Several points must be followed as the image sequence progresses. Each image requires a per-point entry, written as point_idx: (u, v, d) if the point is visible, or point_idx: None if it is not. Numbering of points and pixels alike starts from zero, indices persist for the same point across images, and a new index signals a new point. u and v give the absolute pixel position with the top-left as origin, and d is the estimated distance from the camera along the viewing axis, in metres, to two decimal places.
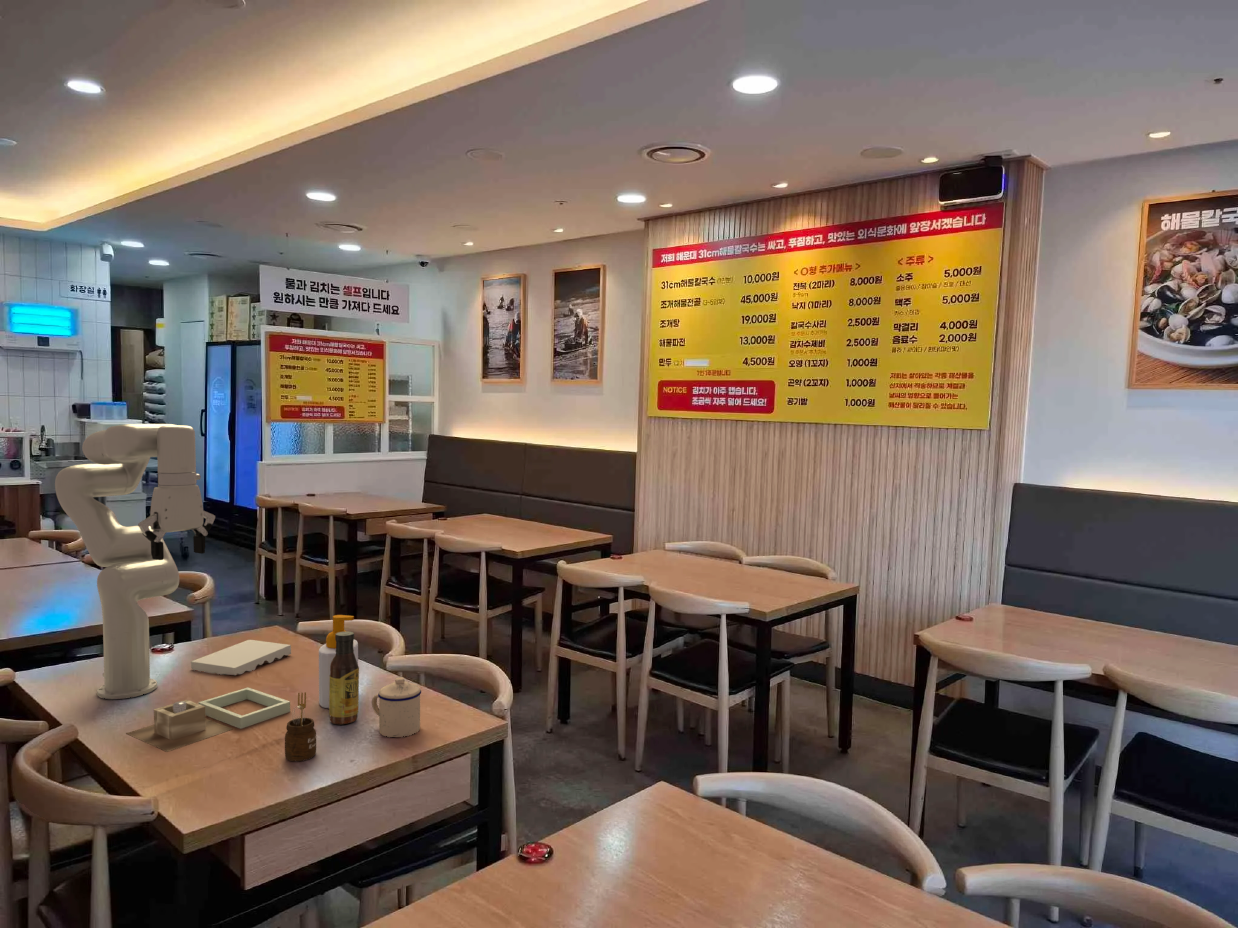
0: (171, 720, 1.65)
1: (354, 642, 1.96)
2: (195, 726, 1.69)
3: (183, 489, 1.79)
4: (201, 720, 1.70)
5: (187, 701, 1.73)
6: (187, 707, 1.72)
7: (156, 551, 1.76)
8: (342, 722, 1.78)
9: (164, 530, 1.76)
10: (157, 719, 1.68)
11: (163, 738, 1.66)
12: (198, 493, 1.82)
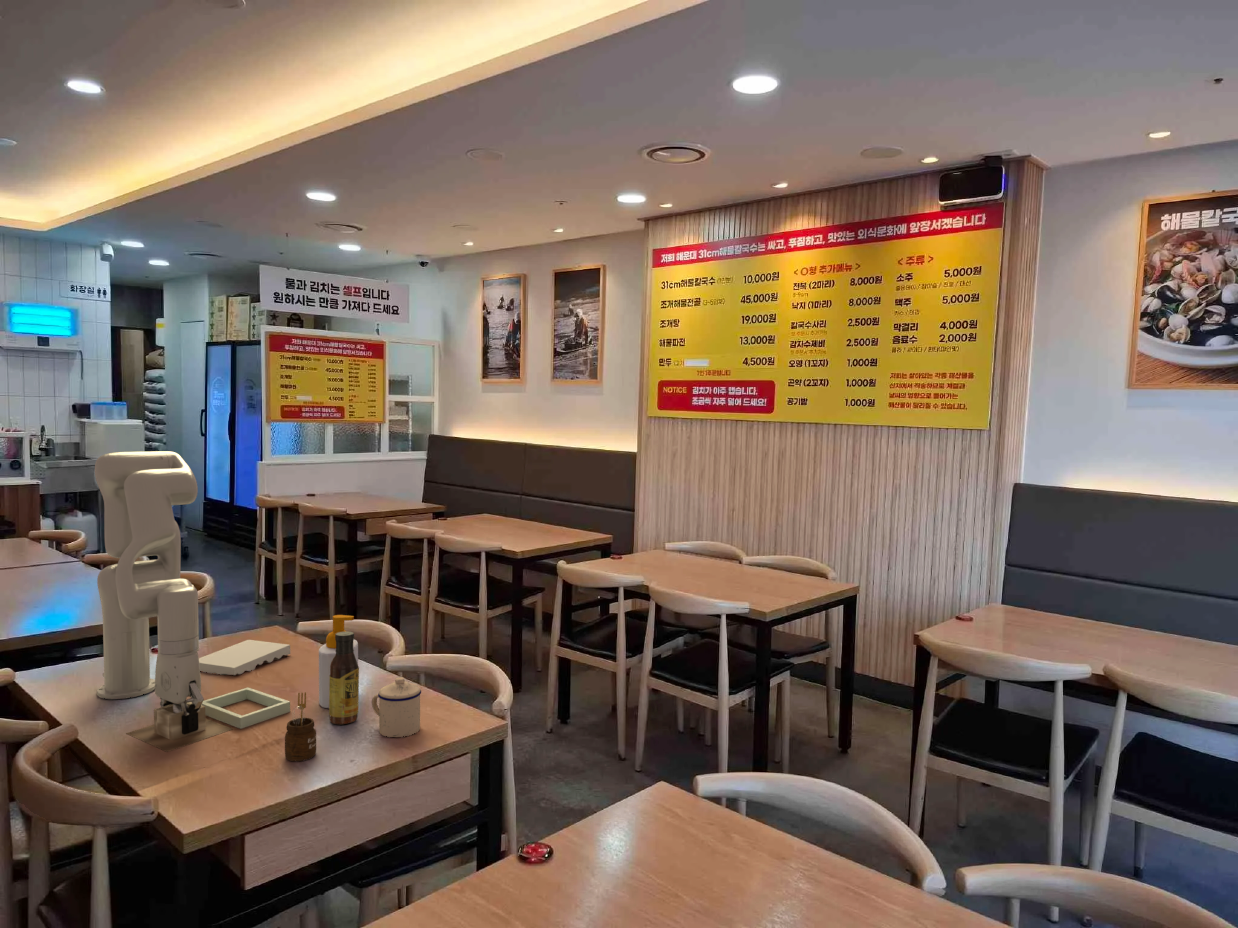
0: (171, 720, 1.65)
1: (354, 642, 1.96)
2: None
3: None
4: (201, 720, 1.70)
5: None
6: None
7: None
8: (342, 722, 1.78)
9: None
10: (157, 719, 1.68)
11: (163, 738, 1.66)
12: None
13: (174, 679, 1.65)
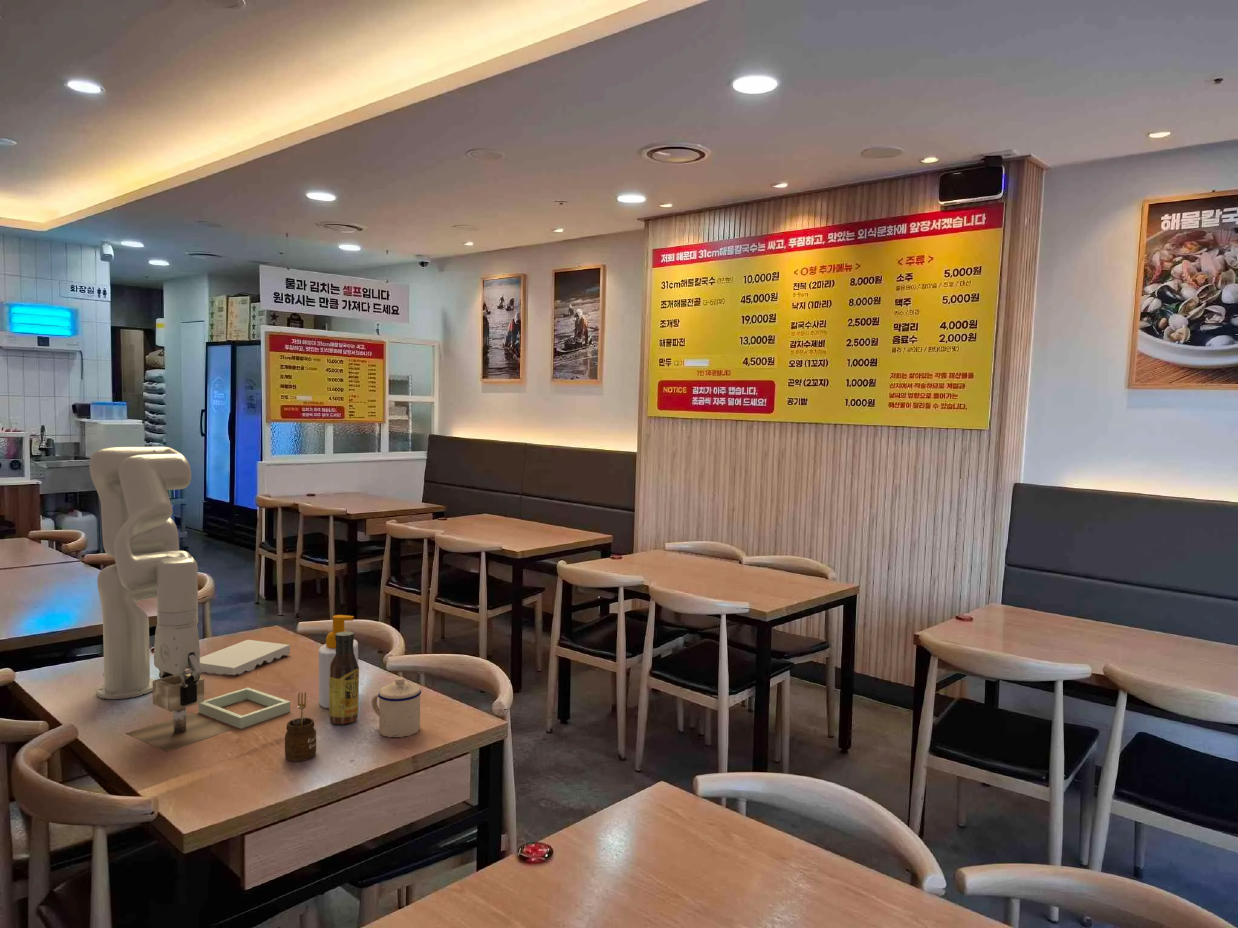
0: (170, 691, 1.65)
1: (354, 642, 1.96)
2: None
3: None
4: (200, 692, 1.70)
5: None
6: None
7: None
8: (342, 722, 1.78)
9: None
10: (156, 690, 1.68)
11: (163, 738, 1.66)
12: None
13: (173, 650, 1.65)
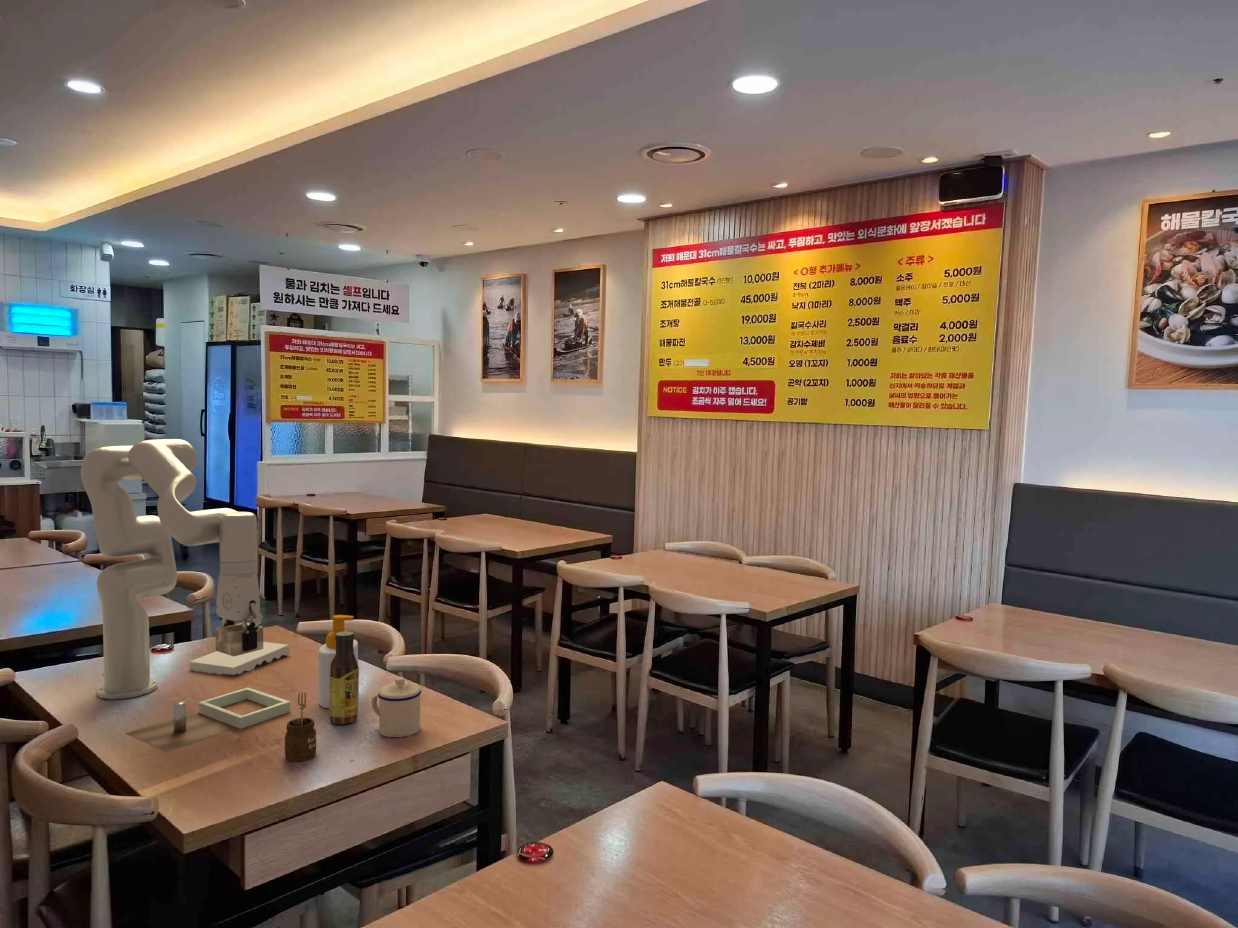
0: (232, 637, 1.74)
1: (354, 642, 1.96)
2: None
3: None
4: (259, 640, 1.79)
5: None
6: None
7: None
8: (342, 722, 1.78)
9: None
10: (219, 637, 1.77)
11: (163, 738, 1.66)
12: None
13: (235, 598, 1.74)
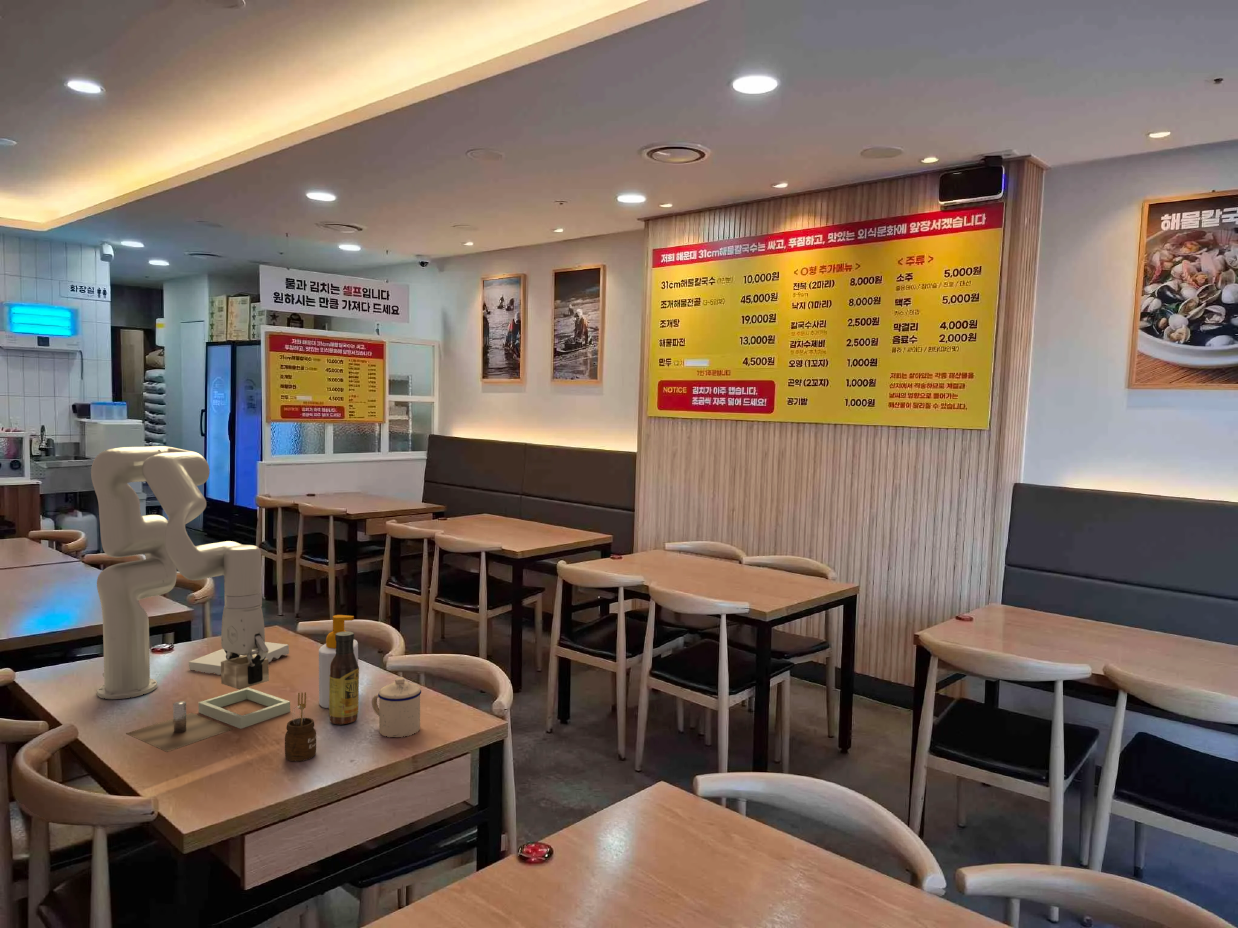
0: (238, 670, 1.75)
1: (354, 642, 1.96)
2: None
3: None
4: (265, 672, 1.80)
5: None
6: None
7: None
8: (342, 722, 1.78)
9: None
10: (224, 670, 1.78)
11: (163, 738, 1.66)
12: None
13: (241, 632, 1.76)
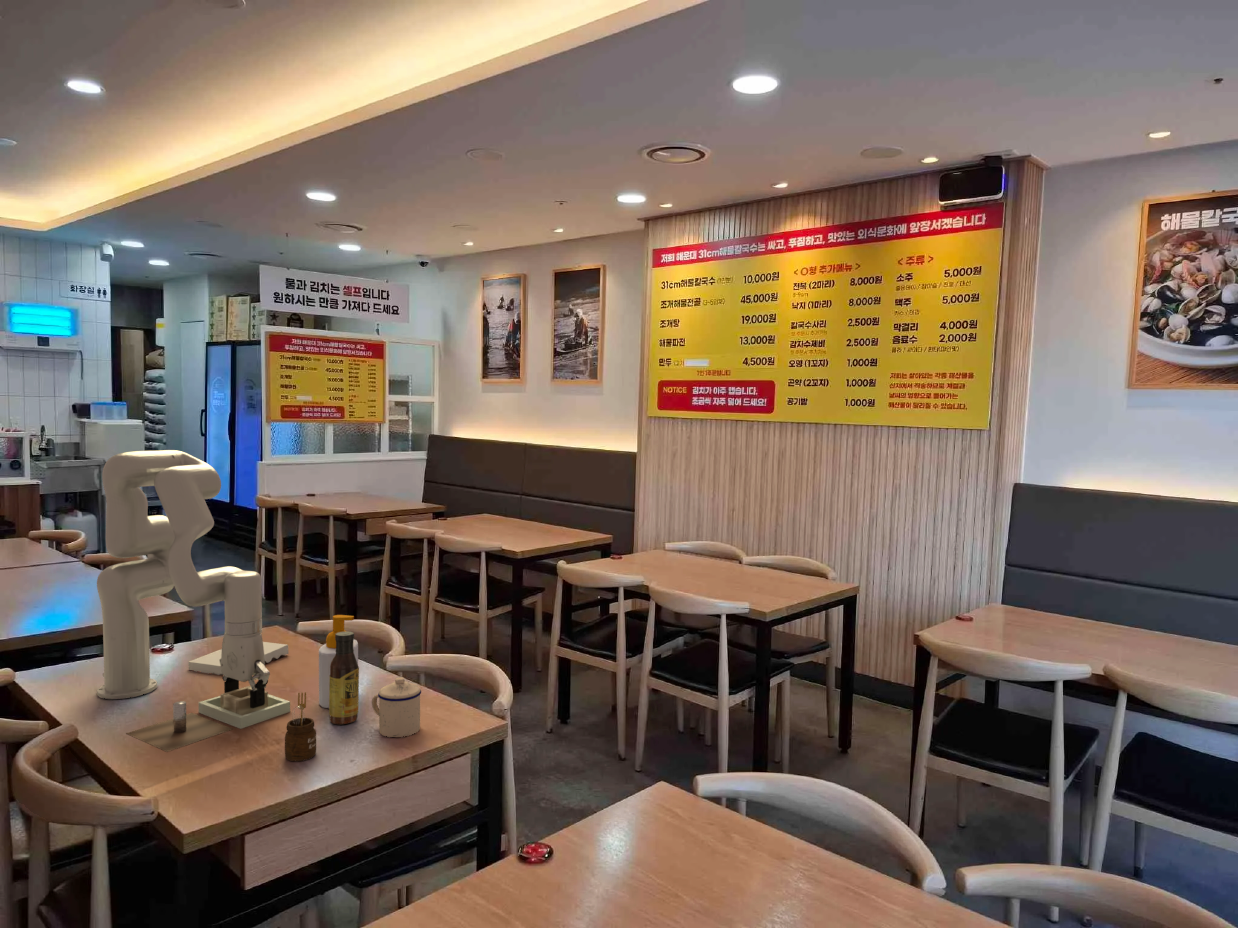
0: (238, 704, 1.76)
1: (354, 642, 1.96)
2: None
3: None
4: (264, 704, 1.81)
5: (250, 687, 1.84)
6: None
7: None
8: (342, 722, 1.78)
9: None
10: (224, 703, 1.79)
11: (163, 738, 1.66)
12: None
13: (241, 658, 1.76)
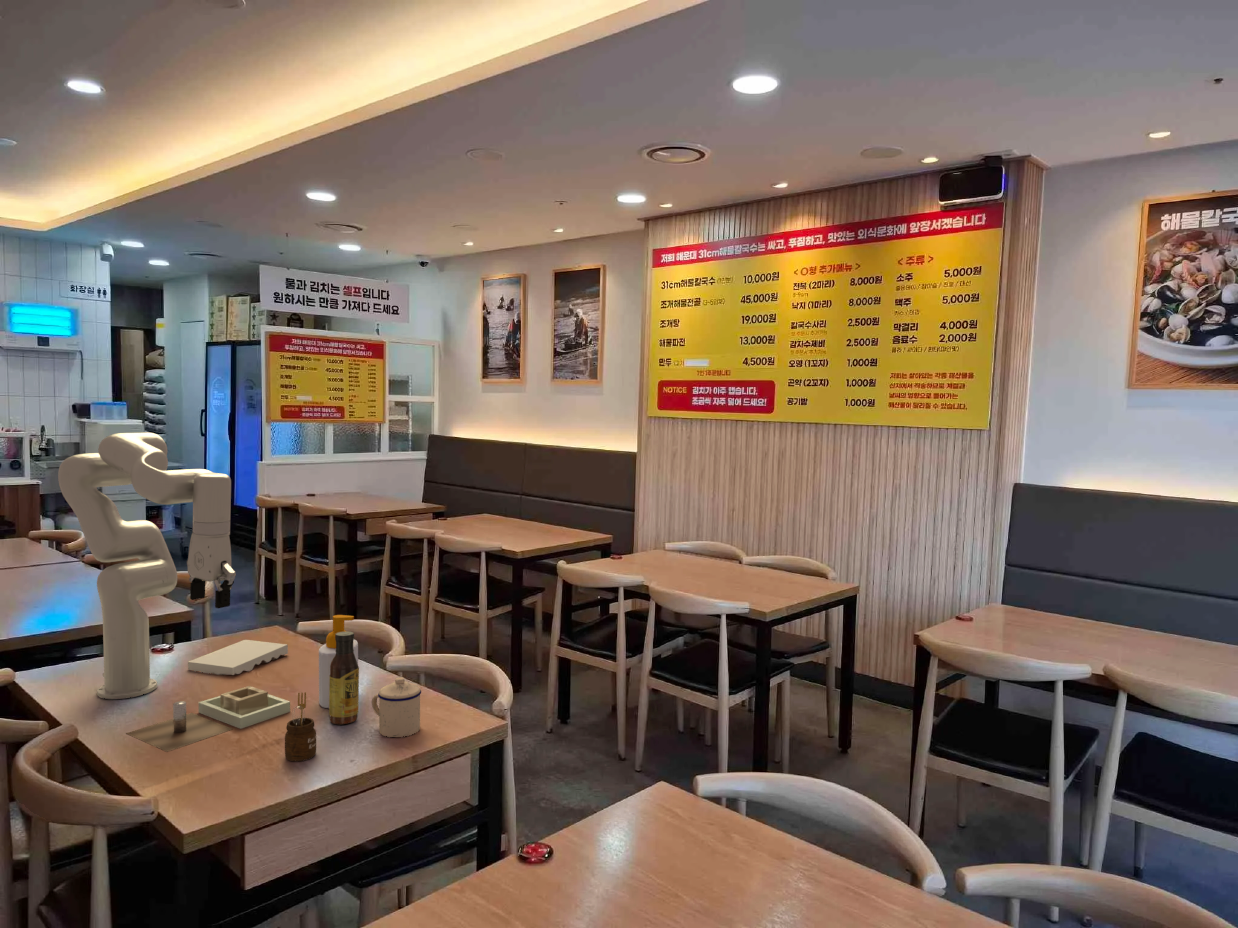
0: (238, 704, 1.76)
1: (354, 642, 1.96)
2: None
3: None
4: (264, 704, 1.81)
5: (250, 687, 1.84)
6: (250, 692, 1.83)
7: None
8: (342, 722, 1.78)
9: None
10: (224, 703, 1.79)
11: (163, 738, 1.66)
12: None
13: (207, 558, 1.77)
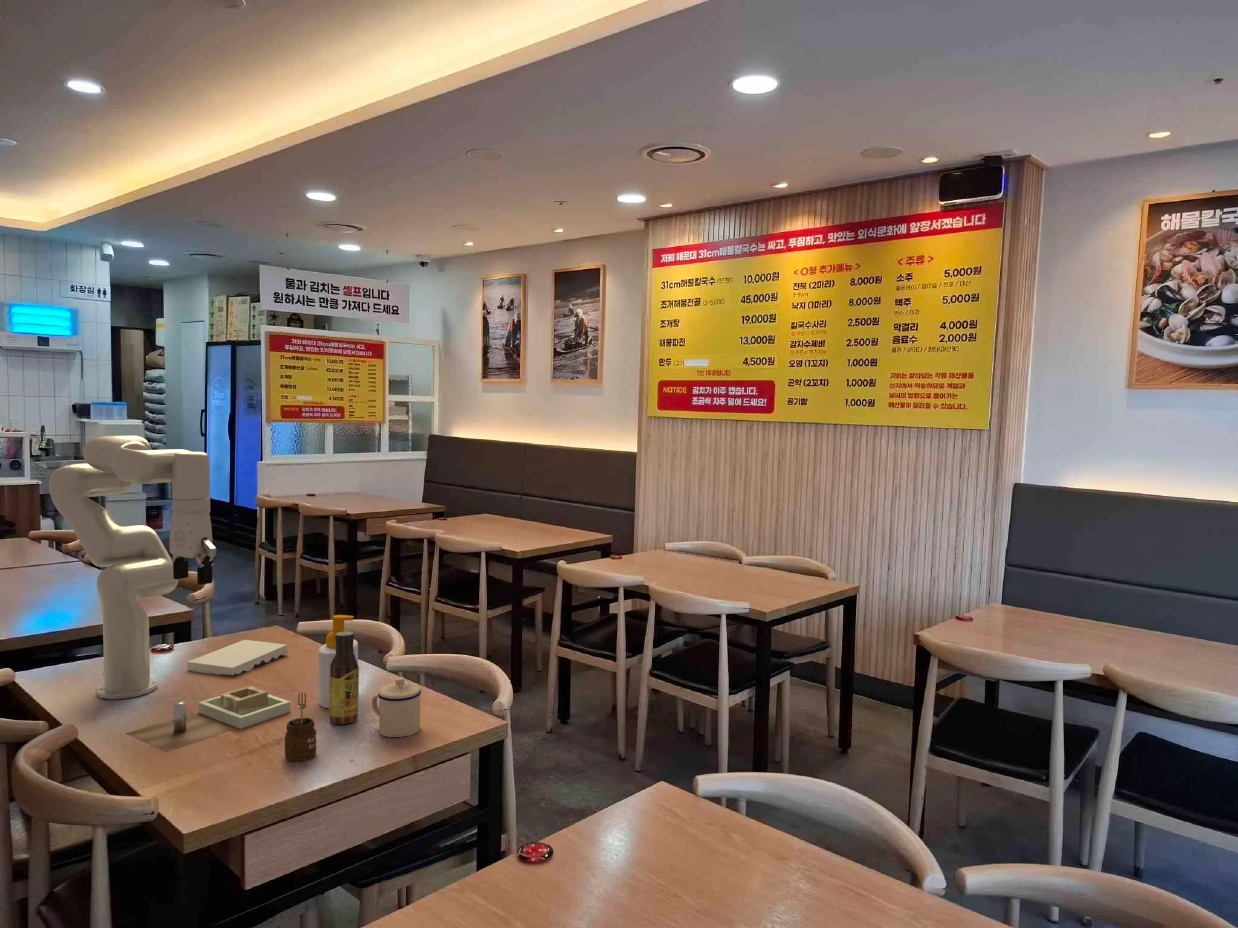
0: (238, 704, 1.76)
1: (354, 642, 1.96)
2: None
3: None
4: (264, 704, 1.81)
5: (250, 687, 1.84)
6: (250, 692, 1.83)
7: None
8: (342, 722, 1.78)
9: None
10: (224, 703, 1.79)
11: (163, 738, 1.66)
12: None
13: (188, 535, 1.78)
